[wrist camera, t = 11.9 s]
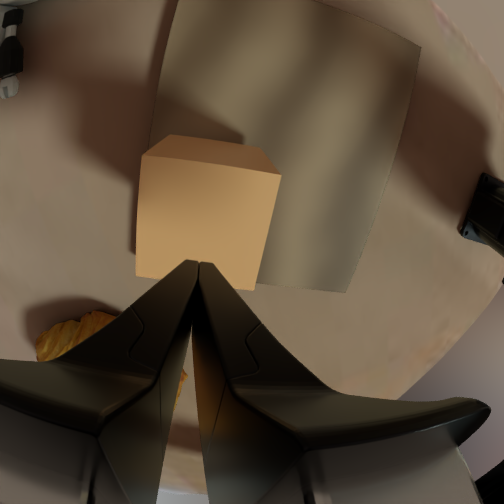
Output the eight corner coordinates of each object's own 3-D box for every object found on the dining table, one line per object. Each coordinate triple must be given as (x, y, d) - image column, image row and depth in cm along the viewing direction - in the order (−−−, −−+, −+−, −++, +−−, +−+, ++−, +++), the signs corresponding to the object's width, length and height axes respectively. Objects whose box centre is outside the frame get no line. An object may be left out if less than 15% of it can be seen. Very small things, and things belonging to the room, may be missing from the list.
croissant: (128, 399, 34) (126, 454, 27) (27, 335, 25) (7, 397, 19) (217, 363, 31) (225, 431, 24) (102, 273, 22) (78, 357, 16)
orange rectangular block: (260, 147, 17) (281, 175, 11) (242, 228, 19) (253, 290, 13) (170, 134, 16) (141, 154, 10) (160, 217, 18) (135, 275, 13)
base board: (412, 48, 16) (421, 47, 15) (340, 284, 25) (345, 292, 24) (187, -18, 13) (186, -24, 12) (142, 258, 22) (138, 267, 21)
